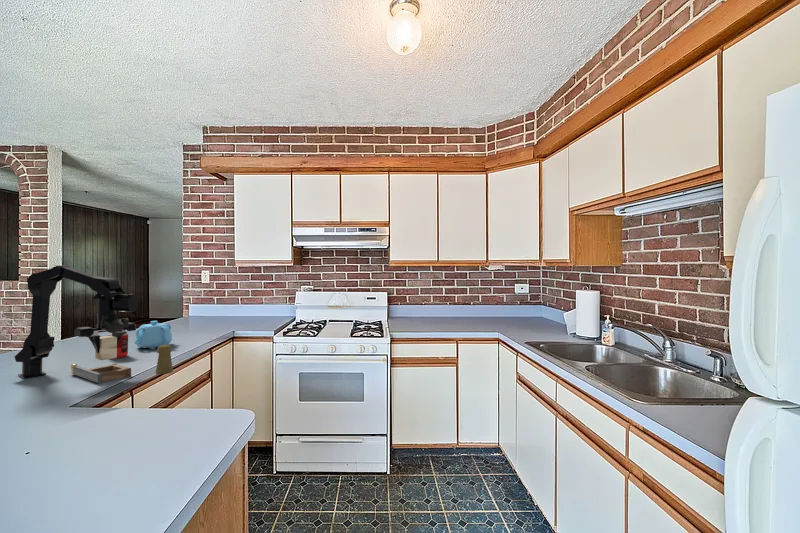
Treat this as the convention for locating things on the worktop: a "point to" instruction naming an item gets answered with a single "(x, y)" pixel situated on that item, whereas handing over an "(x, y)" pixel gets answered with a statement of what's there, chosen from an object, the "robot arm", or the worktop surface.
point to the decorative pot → (153, 335)
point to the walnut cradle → (112, 372)
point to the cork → (164, 360)
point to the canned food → (122, 346)
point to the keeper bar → (85, 373)
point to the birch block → (107, 348)
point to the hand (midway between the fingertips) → (106, 351)
